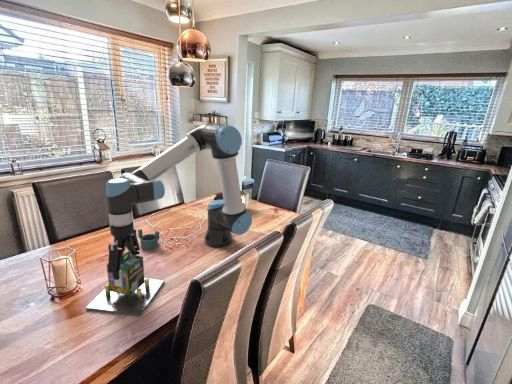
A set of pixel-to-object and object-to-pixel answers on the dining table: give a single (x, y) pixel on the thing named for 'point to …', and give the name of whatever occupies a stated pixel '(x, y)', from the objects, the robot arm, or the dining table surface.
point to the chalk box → (128, 274)
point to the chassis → (126, 299)
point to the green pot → (148, 240)
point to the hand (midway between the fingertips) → (126, 277)
